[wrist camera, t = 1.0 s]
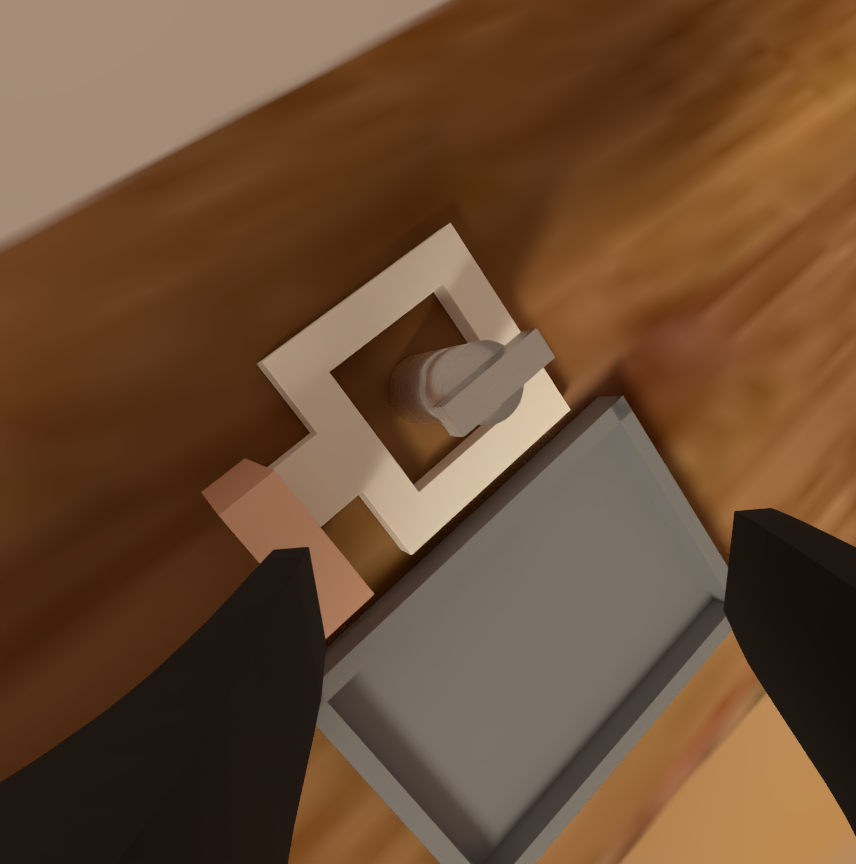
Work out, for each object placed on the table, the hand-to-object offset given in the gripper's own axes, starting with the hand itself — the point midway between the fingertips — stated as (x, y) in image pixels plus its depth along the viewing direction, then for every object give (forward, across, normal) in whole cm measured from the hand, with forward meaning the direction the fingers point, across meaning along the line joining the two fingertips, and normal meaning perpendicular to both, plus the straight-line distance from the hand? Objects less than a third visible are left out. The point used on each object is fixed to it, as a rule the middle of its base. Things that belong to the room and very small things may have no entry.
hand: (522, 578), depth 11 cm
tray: (+11, -2, +11) cm, 15 cm away
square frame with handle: (+12, +3, +2) cm, 12 cm away
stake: (+13, +2, +1) cm, 13 cm away
